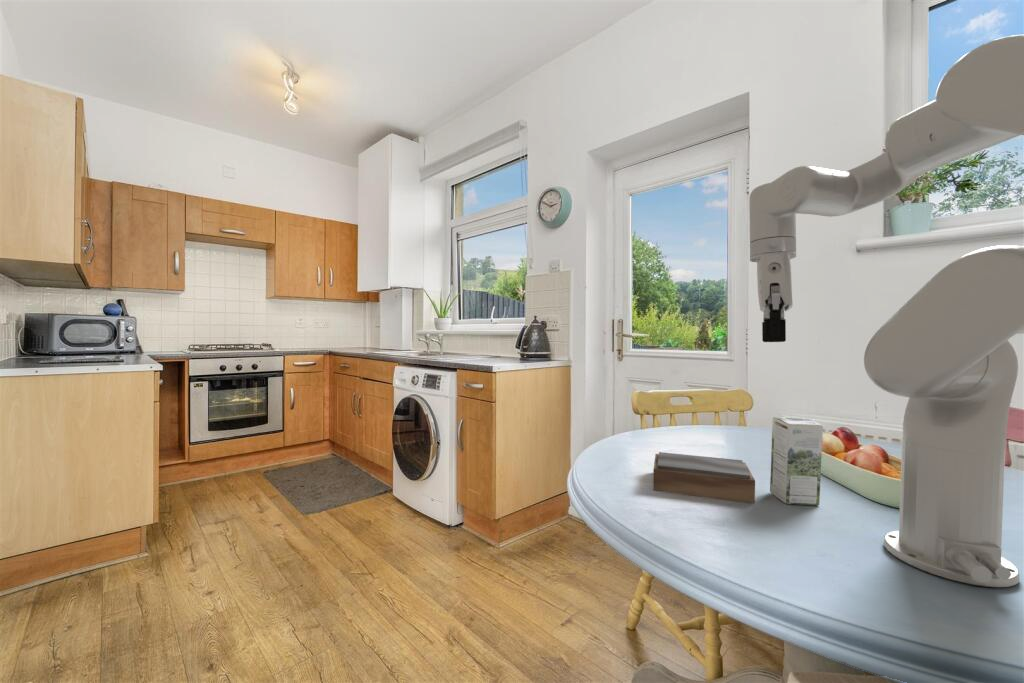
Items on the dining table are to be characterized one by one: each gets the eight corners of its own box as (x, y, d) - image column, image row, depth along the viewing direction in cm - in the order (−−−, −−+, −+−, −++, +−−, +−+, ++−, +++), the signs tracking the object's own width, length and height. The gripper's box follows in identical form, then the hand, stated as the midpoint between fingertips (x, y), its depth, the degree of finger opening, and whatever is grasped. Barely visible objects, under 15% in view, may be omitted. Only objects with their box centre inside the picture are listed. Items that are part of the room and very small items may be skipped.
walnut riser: (754, 503, 76) (755, 477, 76) (653, 490, 82) (653, 466, 82) (744, 482, 87) (745, 459, 87) (655, 472, 93) (655, 450, 92)
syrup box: (801, 494, 81) (803, 416, 80) (821, 507, 75) (823, 423, 75) (769, 492, 81) (771, 415, 81) (786, 505, 76) (788, 422, 75)
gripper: (801, 239, 73) (802, 341, 72) (791, 257, 88) (792, 341, 88) (750, 244, 76) (751, 342, 76) (749, 260, 91) (749, 342, 91)
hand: (773, 341), depth 82 cm, fingers open, 9 cm apart
